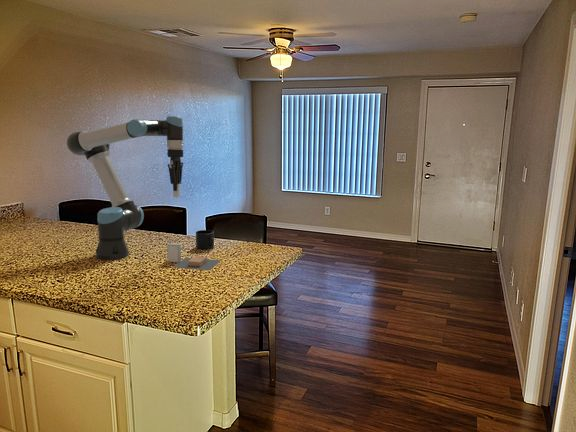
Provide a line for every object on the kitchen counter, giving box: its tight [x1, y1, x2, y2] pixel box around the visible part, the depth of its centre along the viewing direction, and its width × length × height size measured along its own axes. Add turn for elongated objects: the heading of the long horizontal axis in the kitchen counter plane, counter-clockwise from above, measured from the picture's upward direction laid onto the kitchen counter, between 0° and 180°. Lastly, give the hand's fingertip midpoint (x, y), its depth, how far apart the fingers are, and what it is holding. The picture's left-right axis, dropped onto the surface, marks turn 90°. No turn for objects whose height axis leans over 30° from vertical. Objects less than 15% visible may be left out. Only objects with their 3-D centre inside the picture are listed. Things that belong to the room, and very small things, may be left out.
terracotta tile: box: [188, 255, 208, 266], centre depth 211 cm, size 6×2×9 cm
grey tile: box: [166, 242, 182, 263], centre depth 213 cm, size 6×2×9 cm, turn 80°
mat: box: [172, 257, 222, 271], centre depth 211 cm, size 18×16×1 cm
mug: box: [195, 229, 215, 251], centre depth 238 cm, size 9×12×9 cm
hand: (176, 197), depth 221 cm, fingers closed
